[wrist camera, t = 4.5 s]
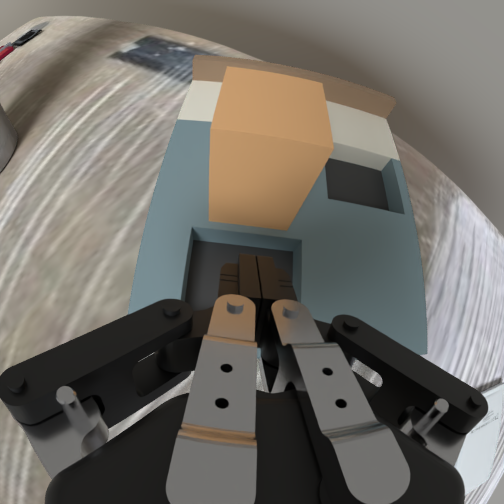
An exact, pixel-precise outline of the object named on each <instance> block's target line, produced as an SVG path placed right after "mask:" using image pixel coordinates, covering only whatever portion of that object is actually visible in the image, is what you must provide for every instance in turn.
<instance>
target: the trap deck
mask: <svg viewBox="0 0 504 504" xmlns="http://www.w3.org/2000/svg"><path fill="white" fill-rule="evenodd" d="M227 66H229V67H238V68H246V69H254V70H260V71H267V72H273V73H278V74H284V75H289V76H294V77H299V78H303V79H307V80H312V81H316V82H320V83H322V84H323V89H324V94H325V99H326V104H327V109H328V115H329V120H330V126H331V132H332V139H333V145H334V150H333V151H332V153H331V155H330V157H329V159H328V160H327V162H326V164H325V166H324V167H323V169H322V171H321V173H320V174H319V176H318V178H317V180H316V181H315V183H314V185H313V187H312V188H311V190H310V192H309V194H308V195H307V197H306V199H305V201H304V202H303V204H302V206H301V208H300V209H299V211H298V213H297V214H296V216H295V218H294V220H293V221H292V223H291V225H290V227H289V228H288V230H287V231H285V230H277V229H270V228H262V227H254V226H246V225H237V224H229V223H220V222H212V221H209V156H210V128H211V124H212V120H213V116H214V112H215V108H216V104H217V100H218V97H219V93H220V89H221V86H222V82H223V79H224V75H225V72H226V68H227ZM395 105H396V101H395V99H394V97H392V96H389V95H386V94H384V93H381V92H379V91H376V90H373V89H370V88H367V87H364V86H361V85H359V84H355V83H352V82H349V81H346V80H342V79H339V78H335V77H332V76H328V75H325V74H321V73H317V72H313V71H309V70H304V69H300V68H295V67H290V66H285V65H280V64H275V63H269V62H262V61H256V60H248V59H240V58H231V57H221V56H207V55H195V56H194V58H193V81H192V83H191V86H190V88H189V90H188V93H187V95H186V98H185V100H184V103H183V105H182V108H181V111H180V113H179V116H178V119H177V121H176V124H175V127H174V130H173V133H172V136H171V138H170V141H169V144H168V147H167V150H166V153H165V156H164V160H163V163H162V166H161V169H160V173H159V176H158V179H157V183H156V186H155V190H154V193H153V197H152V201H151V204H150V208H149V212H148V216H147V220H146V224H145V228H144V232H143V236H142V241H141V245H140V250H139V255H138V259H137V264H136V269H135V275H134V280H133V286H132V291H131V297H130V303H129V310H128V315H129V314H131V313H133V312H135V311H137V310H140V309H142V308H144V307H146V306H148V305H151V304H153V303H155V302H157V301H160V300H163V299H179V300H182V301H185V302H186V303H188V304H189V305H190V306H191V307H192V309H193V311H200V310H205V309H208V308H211V307H212V306H214V305H215V301H216V300H217V299H218V290H219V281H220V272H221V267H222V266H223V265H224V264H225V263H234V264H237V263H238V256H239V253H240V254H249V255H255V256H256V255H258V256H267V257H273V261H274V264H275V268H279V269H283V270H285V271H286V272H287V273H288V274H289V276H290V279H291V282H292V285H293V288H294V291H295V294H296V297H297V300H298V302H299V303H301V304H303V305H305V306H306V307H307V308H308V310H309V311H310V313H311V315H312V318H313V319H315V320H318V321H322V322H326V323H330V324H331V322H332V320H333V318H334V317H335V316H337V315H342V314H345V315H351V316H354V317H357V318H358V319H360V320H362V321H364V322H365V323H367V324H368V325H370V326H372V327H373V328H375V329H377V330H378V331H380V332H382V333H383V334H385V335H387V336H388V337H390V338H392V339H393V340H395V341H396V342H398V343H400V344H401V345H403V346H405V347H406V348H408V349H410V350H411V351H413V352H415V353H416V354H418V355H423V354H427V317H426V301H425V289H424V279H423V270H422V263H421V255H420V249H419V242H418V236H417V231H416V225H415V220H414V215H413V210H412V206H411V201H410V197H409V193H408V189H407V185H406V181H405V177H404V173H403V170H402V166H401V163H400V159H399V156H398V153H397V149H396V146H395V143H394V140H393V137H392V134H391V131H390V128H389V125H388V123H387V120H386V118H387V117H388V115H389V114H390V112H391V111H392V109H393V108H394V106H395ZM260 354H261V349H260V348H257V358H260ZM355 360H357V359H355Z"/></svg>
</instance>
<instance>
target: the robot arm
mask: <svg viewBox="0 0 504 504" xmlns="http://www.w3.org/2000/svg"><path fill="white" fill-rule="evenodd" d="M17 138H18V136H17V132H16V131H15V129H14V127H13V125H12V124H11V122H10V120H9V118H8V117H7V115H6V113H5V111H4V109H3V107H2V106H1V104H0V172H1V171H2V169H3V168H4V166H5V165H6V164H7V162H8V161H9V159H10V157H11V156H12V154H13V151H14V149H15V147H16V144H17ZM257 348H260V349H261V354H260V358H259V368H260V373H261V379H262V384H263V389H264V391H259V390H256V376H257ZM154 352H155V353H154ZM152 353H153V354H152ZM150 354H152V355H150ZM149 355H150V356H149ZM147 356H148V357H147ZM145 357H146V358H145ZM143 358H145V359H143ZM141 359H143V360H141ZM355 359H357V360H359V361H360V362H362V363H363V364H365V365H366V366H368V367H369V368H371V369H372V370H374V371H375V372H377V373H378V374H379V375H380V376H381V377H382V380H383V383H382V386H381V387H377V386H375V385H373V384H372V383H370V382H369V381H367V380H366V379H364V378H363V377H361V376H360V375H359V374H357V373H356V372H354V371H353V370H351V367H352V365H353V363H354V361H355ZM140 360H141V361H140ZM138 361H139V362H138ZM191 371H195V372H194V376H193V380H192V384H191V389H190V393H186V394H182V395H179V396H176V397H174V398H171V399H170V400H168V401H166V402H164V403H163V404H161V405H160V406H158V407H157V408H156V409H154V410H153V411H152V412H150V413H149V414H147V415H146V416H145V417H143V418H142V419H140V420H139V421H138V422H136V423H135V424H133V425H132V426H130V427H129V428H127V429H126V430H125V431H123V432H122V433H120V434H119V435H117V436H116V437H114V438H113V439H111V440H110V441H108V442H107V440H108V437H109V430H108V429H109V428H111V427H112V426H114V425H116V424H117V423H119V422H121V421H122V420H124V419H126V418H127V417H129V416H130V415H132V414H133V413H135V412H137V411H138V410H140V409H141V408H143V407H144V406H146V405H148V404H149V403H151V402H152V401H154V400H155V399H157V398H158V397H160V396H161V395H163V394H164V393H166V392H167V391H169V390H170V389H172V388H173V387H175V386H176V385H177V384H179V383H180V382H182V381H183V380H185V379H186V378H187V377H188V376H189V375H190V374H191ZM0 398H1V400H2V401H3V403H4V404H5V405H6V407H7V408H8V410H9V411H10V412H11V415H12V416H13V418H14V419H15V421H16V422H17V423H18V424H19V426H20V427H21V428H22V429H23V430H24V432H25V433H26V435H27V437H28V439H29V441H30V443H31V445H32V447H33V449H34V450H35V452H36V454H37V456H38V458H39V459H40V461H41V463H42V464H43V466H44V468H45V469H46V471H47V472H48V474H49V476H50V477H51V479H52V481H51V482H50V484H49V486H48V488H47V491H46V495H45V504H464V500H465V486H464V482H463V479H462V477H461V475H460V473H459V472H458V470H457V469H456V468H455V467H454V466H455V464H456V461H457V459H458V456H459V454H460V451H461V449H462V446H463V443H464V441H465V438H466V435H467V434H468V433H469V432H470V431H471V430H472V429H473V428H474V427H475V426H476V425H477V424H478V423H479V422H480V421H481V420H482V419H483V418H484V417H485V416H486V414H487V413H488V403H487V400H486V399H485V397H484V396H483V395H482V394H481V393H480V392H479V391H477V390H476V389H474V388H473V387H471V386H469V385H468V384H466V383H464V382H463V381H461V380H459V379H458V378H456V377H454V376H453V375H451V374H449V373H448V372H446V371H444V370H443V369H441V368H439V367H438V366H436V365H434V364H433V363H431V362H429V361H428V360H426V359H425V358H423V357H421V356H420V355H418V354H416V353H415V352H413V351H411V350H410V349H408V348H406V347H405V346H403V345H401V344H400V343H398V342H396V341H395V340H393V339H392V338H390V337H388V336H387V335H385V334H383V333H382V332H380V331H378V330H377V329H375V328H373V327H372V326H370V325H368V324H367V323H365V322H364V321H362V320H360V319H358V318H357V317H354V316H351V315H345V314H342V315H337V316H335V317H334V318H333V320H332V322H331V324H330V323H326V322H322V321H318V320H315V319H313V318H312V315H311V313H310V311H309V310H308V308H307V307H306V306H305V305H303V304H301V303H299V302H298V300H297V297H296V294H295V291H294V288H293V285H292V282H291V279H290V276H289V274H288V273H287V272H286V271H285V270H283V269H279V268H275V264H274V261H273V257H267V256H258V255H256V256H255V255H249V254H240V253H239V256H238V263H237V264H234V263H225V264H224V265H223V266H222V267H221V272H220V281H219V290H218V299H217V300H216V301H215V305H214V306H212V307H211V308H208V309H205V310H200V311H193V309H192V307H191V306H190V305H189V304H188V303H186V302H185V301H182V300H179V299H163V300H160V301H157V302H155V303H153V304H151V305H148V306H146V307H144V308H142V309H140V310H137V311H135V312H133V313H131V314H129V315H126V316H124V317H122V318H120V319H117V320H115V321H113V322H111V323H109V324H106V325H104V326H102V327H100V328H97V329H95V330H93V331H91V332H89V333H86V334H84V335H82V336H80V337H77V338H75V339H73V340H71V341H68V342H66V343H64V344H62V345H59V346H57V347H55V348H53V349H51V350H48V351H46V352H44V353H42V354H39V355H37V356H35V357H32V358H30V359H28V360H26V361H23V362H21V363H19V364H17V365H14V366H12V367H10V368H8V369H7V370H5V371H4V372H3V373H2V374H1V376H0ZM106 442H107V443H106Z"/></svg>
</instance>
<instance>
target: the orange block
mask: <svg viewBox="0 0 504 504" xmlns="http://www.w3.org/2000/svg"><path fill="white" fill-rule="evenodd" d="M333 150H334V145H333V139H332V132H331V126H330V120H329V115H328V109H327V104H326V99H325V94H324V89H323V84H322V83H320V82H316V81H312V80H307V79H303V78H299V77H294V76H289V75H284V74H278V73H273V72H267V71H260V70H254V69H246V68H238V67H229V66H227V68H226V72H225V75H224V79H223V82H222V86H221V89H220V93H219V97H218V100H217V104H216V108H215V112H214V116H213V120H212V124H211V128H210V156H209V221H212V222H220V223H229V224H237V225H246V226H254V227H262V228H270V229H277V230H285V231H287V230H288V228H289V227H290V225H291V223H292V221H293V220H294V218H295V216H296V214H297V213H298V211H299V209H300V208H301V206H302V204H303V202H304V201H305V199H306V197H307V195H308V194H309V192H310V190H311V188H312V187H313V185H314V183H315V181H316V180H317V178H318V176H319V174H320V173H321V171H322V169H323V167H324V166H325V164H326V162H327V160H328V159H329V157H330V155H331V153H332V151H333Z"/></svg>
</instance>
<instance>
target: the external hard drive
mask: <svg viewBox="0 0 504 504" xmlns="http://www.w3.org/2000/svg"><path fill="white" fill-rule="evenodd" d="M480 393H481V394H482V395H483V396H484V397H485V399H486V400H487V403H488V413H487V414H486V416H485V417H484V418H483V419H482V420H481V421H480V422H479V423H478V424H477V425H476V426H475V427H474V428H473V429H472V430H471V431H470V432H469V433H468V434H467V435H466V438H465V441H464V443H463V446H462V449H461V451H460V454H459V456H458V459H457V461H456V464H455V466H454V467H455V468H456V469H457V470H458V472H459V473H460V475H461V477H462V479H463V482H464V486H465V495H467V494H468V493H470V492H471V491H473V490H474V489H476V488H477V487H478V486H480V485H481V484H483V483H484V482H485V481H487V480H488V479H489V477H490V473H491V470H492V466H493V462H494V458H495V453H496V448H497V444H498V438H499V432H500V426H501V419H502V411H503V401H504V383H499V384H497V385H495V386H493V387H491V388H489V389H486V391H483V392H480Z"/></svg>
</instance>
